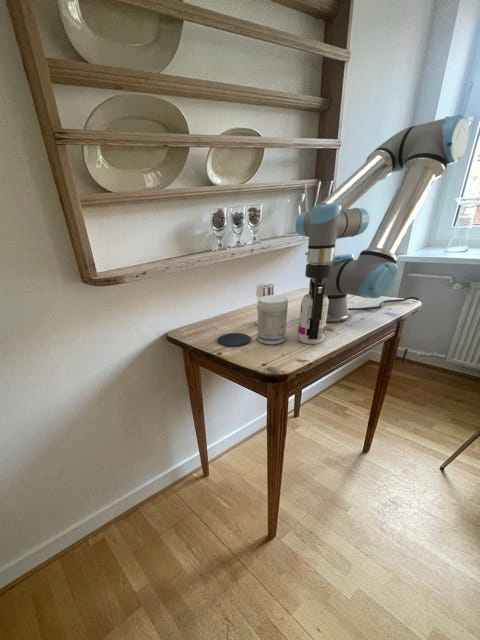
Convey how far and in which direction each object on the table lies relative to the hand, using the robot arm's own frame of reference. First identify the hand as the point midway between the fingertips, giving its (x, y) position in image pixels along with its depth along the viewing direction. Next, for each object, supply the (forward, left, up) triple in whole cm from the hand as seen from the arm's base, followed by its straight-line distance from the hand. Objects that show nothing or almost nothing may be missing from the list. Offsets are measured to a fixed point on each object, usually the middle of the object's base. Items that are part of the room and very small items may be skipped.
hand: (311, 333), depth 102 cm
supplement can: (0, 0, -2) cm, 2 cm away
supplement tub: (+11, -7, -2) cm, 13 cm away
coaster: (+21, -15, -2) cm, 26 cm away
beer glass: (+3, -23, -2) cm, 24 cm away
